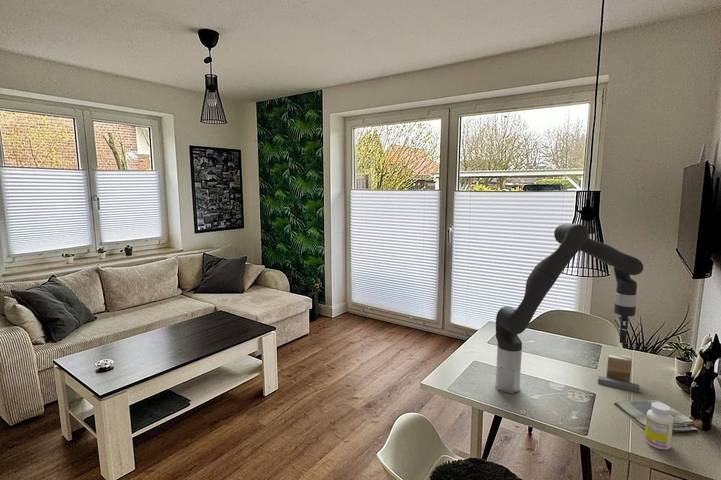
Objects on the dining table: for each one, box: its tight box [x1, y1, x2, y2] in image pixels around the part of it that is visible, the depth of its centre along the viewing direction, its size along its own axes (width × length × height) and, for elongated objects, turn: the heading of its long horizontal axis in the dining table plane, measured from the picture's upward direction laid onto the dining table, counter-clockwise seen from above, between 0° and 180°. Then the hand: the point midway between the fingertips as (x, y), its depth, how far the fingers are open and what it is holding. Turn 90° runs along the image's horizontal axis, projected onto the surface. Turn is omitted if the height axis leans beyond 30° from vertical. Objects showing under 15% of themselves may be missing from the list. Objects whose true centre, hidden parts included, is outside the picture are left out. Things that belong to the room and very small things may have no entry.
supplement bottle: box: [644, 402, 673, 450], centre depth 121 cm, size 7×7×13 cm
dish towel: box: [613, 399, 700, 434], centre depth 136 cm, size 19×18×3 cm
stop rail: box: [597, 375, 640, 394], centre depth 157 cm, size 3×14×2 cm, turn 57°
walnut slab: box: [605, 352, 633, 383], centre depth 161 cm, size 4×8×11 cm, turn 57°
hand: (622, 339), depth 166 cm, fingers open, 8 cm apart
